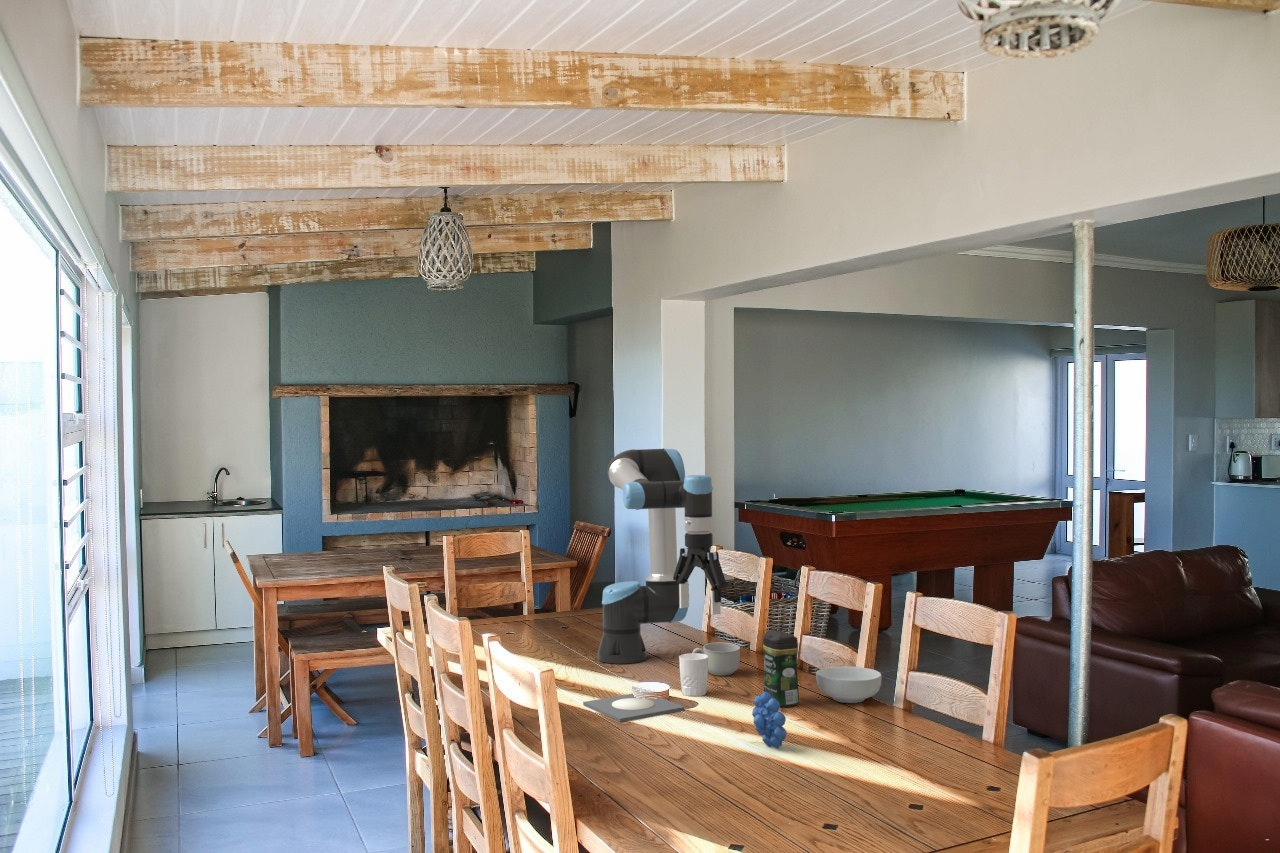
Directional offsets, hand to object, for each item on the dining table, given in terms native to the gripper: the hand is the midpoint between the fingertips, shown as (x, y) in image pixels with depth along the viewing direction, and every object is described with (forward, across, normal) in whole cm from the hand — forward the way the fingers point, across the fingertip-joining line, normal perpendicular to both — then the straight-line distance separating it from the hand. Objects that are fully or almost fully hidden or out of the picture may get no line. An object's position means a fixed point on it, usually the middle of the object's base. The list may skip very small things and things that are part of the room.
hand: (699, 610), depth 292 cm
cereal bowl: (+22, +30, +26) cm, 45 cm away
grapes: (+22, +46, -18) cm, 55 cm away
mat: (+22, +1, -23) cm, 32 cm away
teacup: (+22, -14, +17) cm, 31 cm away
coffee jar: (+22, +21, +10) cm, 32 cm away
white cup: (+22, 0, -2) cm, 22 cm away
